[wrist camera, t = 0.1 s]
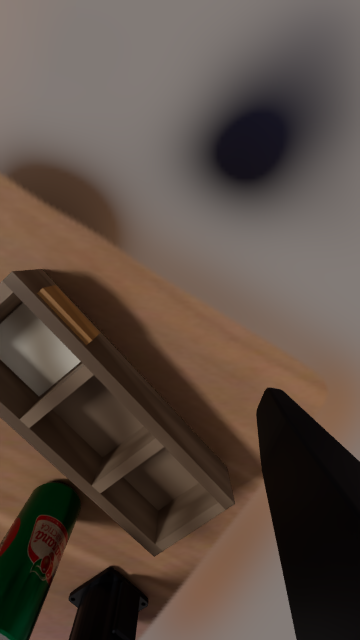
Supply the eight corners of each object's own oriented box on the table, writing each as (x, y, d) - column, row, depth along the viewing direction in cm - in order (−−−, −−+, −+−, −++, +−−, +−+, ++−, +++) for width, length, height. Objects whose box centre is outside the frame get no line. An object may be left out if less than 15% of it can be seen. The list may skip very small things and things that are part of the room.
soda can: (91, 509, 28) (26, 694, 16) (48, 524, 28) (-46, 714, 16) (68, 471, 27) (-20, 638, 15) (23, 487, 27) (-96, 662, 15)
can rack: (157, 514, 28) (154, 556, 24) (-30, 336, 23) (-72, 351, 20) (231, 464, 26) (240, 499, 22) (46, 264, 22) (18, 265, 18)
